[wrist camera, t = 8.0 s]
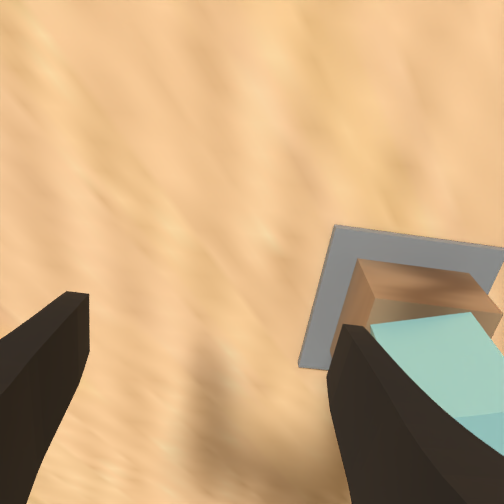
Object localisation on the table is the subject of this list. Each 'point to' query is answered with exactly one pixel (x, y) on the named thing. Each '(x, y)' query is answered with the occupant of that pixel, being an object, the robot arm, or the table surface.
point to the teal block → (452, 368)
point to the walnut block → (412, 296)
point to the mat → (386, 250)
